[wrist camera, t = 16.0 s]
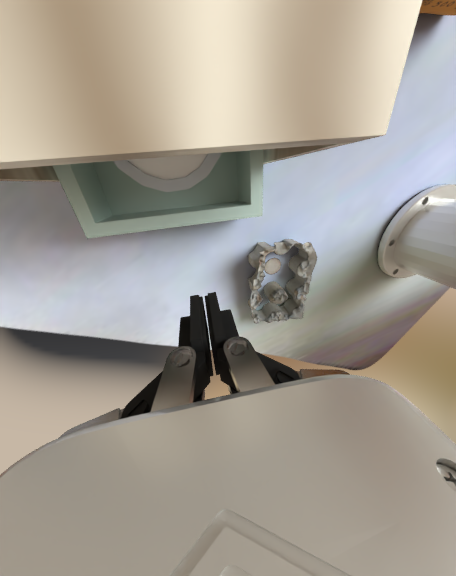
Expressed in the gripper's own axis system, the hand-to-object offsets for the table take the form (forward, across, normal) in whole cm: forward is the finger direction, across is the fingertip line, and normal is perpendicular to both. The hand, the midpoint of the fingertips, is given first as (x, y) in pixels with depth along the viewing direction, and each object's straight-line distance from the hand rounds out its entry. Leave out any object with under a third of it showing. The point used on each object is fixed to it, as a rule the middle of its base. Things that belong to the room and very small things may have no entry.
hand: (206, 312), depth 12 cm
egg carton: (+11, -9, +4) cm, 15 cm away
